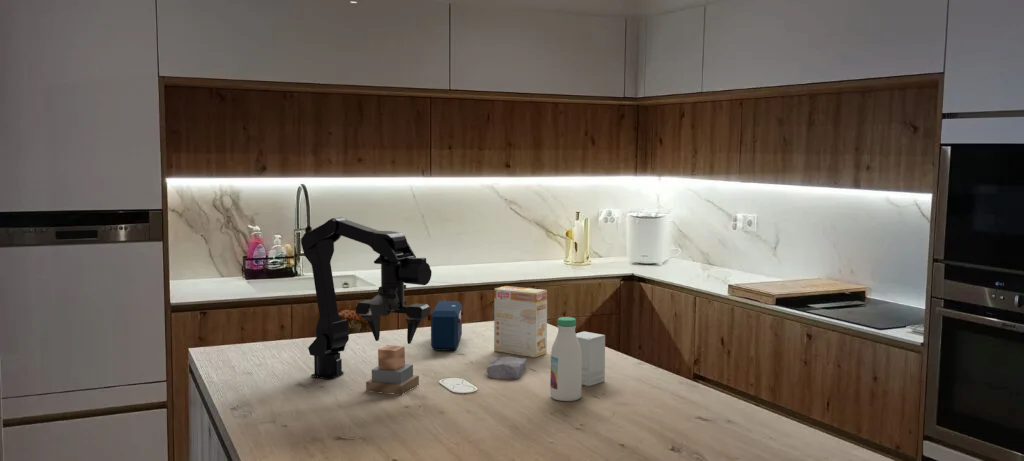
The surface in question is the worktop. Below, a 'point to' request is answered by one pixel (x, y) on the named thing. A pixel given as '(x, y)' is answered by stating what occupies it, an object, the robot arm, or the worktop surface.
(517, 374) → the stone block
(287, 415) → the worktop surface
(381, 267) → the robot arm
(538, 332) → the coffeecake box
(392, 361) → the terracotta cube
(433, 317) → the radio
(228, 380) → the worktop surface
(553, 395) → the milk bottle
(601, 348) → the supplement box
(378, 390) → the tower base block
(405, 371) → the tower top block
